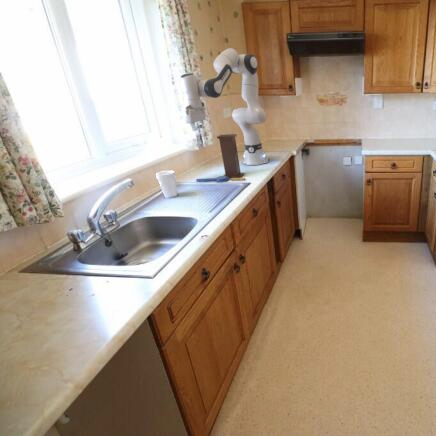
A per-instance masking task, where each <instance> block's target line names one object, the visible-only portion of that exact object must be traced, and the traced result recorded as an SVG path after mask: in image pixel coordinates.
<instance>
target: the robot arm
mask: <svg viewBox="0 0 436 436" xmlns="http://www.w3.org/2000/svg"><path fill="white" fill-rule="evenodd" d="M258 67H259V61H258V59H257V57H256V56H255V55H254V54H251V53H241V54H239V52H238V51H237V50H236V49H235V48H231V47H228V48H226V49H225V50H223V51H222V52H220V53H219V54H218V55H217V56H216V58H215V59H214V61H213V69H214V71H215V72H216V76H215V77H213V78H206V79H204V78H203V79H202V78H200V77H198V76H197V75H195V73H192V72H190V73H185V74H182V75H180V78H179V82H180V89H181V93H182V94H183V103H184V107H185V108H184V110H183V111H184V112H183V113H184V121H185V123H186V124H189V125H190V127H191V129H192V131H193V132H196V131H197V127H196V123H198V124H199V125H198V128H199V129H203V128H204V120H206V117H207V115H206V109H205V102H204V101H202V100H201V98H212V99H213V98H214V99H217V98H220V96H221V95H222V92H223V90H224V87H225V86H226V84H227V83H228V81H229V80H230V78H231V77H232V74H241V76H242V80H241V98H242V100H243V101H244V102H245V103H246V105H247V107H238V108H234V109H233V110H232V113H231V117H232V120H233V122H235V123H236V124H237V125H238V127H239V128H240V130H241V132H242V135H243V140H244V152H243V161H242V165H246V166H260V165H264V164H269V156H266V152H265V150H264V149H263V145H262V144H263V143H262V142H261V136H260V132H259V131H258V129H256V128H255V127H254V125H260V124H263V123H265V122H266V120H267V113H266V111H265V110H264V108H262V106H261V104H260V101H259V76H258V72H257V71H258Z"/></svg>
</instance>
